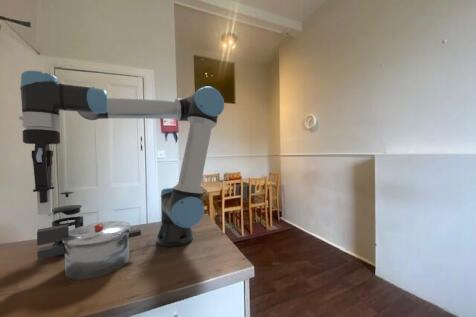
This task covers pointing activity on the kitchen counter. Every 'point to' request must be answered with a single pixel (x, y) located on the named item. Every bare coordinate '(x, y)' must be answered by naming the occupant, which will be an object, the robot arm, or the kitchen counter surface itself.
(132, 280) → the kitchen counter surface
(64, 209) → the french press
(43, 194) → the robot arm
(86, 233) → the lid
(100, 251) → the pressure cooker pot
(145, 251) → the kitchen counter surface
